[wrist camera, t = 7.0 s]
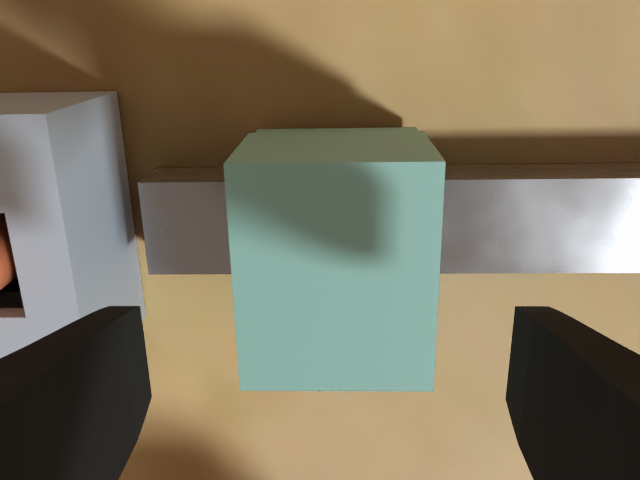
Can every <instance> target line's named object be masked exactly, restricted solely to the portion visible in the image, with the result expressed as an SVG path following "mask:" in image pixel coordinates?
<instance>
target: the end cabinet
mask: <svg viewBox="0 0 640 480" xmlns="http://www.w3.org/2000/svg"><path fill="white" fill-rule="evenodd" d="M0 213H5V217H6V222H7V227H8V232H9V237H10V242H11V247H12V252H13V257H14V262H15V267H16V272H17V276H18V281H19V286H20V291H6V289H5V287H3V288H2V289H1V290H0V358H2V357H4V356H6V355H8V354H11V353H13V352H15V351H17V350H19V349H21V348H23V347H25V346H27V345H29V344H31V343H33V342H35V341H37V340H39V339H41V338H43V337H45V336H47V335H49V334H51V333H53V332H54V331H56V330H58V329H60V328H62V327H64V326H66V325H68V324H70V323H72V322H74V321H76V320H78V319H80V318H82V317H84V316H86V315H88V314H90V313H92V312H95V311H97V310H99V309H102V308H105V307H108V306H140V309H141V317H142V321H143V320H144V318H145V317H146V314H145V306H144V298H143V290H142V282H141V275H140V267H139V259H138V251H137V243H136V236H135V228H134V220H133V212H132V204H131V197H130V189H129V181H128V173H127V165H126V158H125V150H124V142H123V134H122V126H121V119H120V111H119V103H118V95H117V91H90V92H22V93H0Z"/></svg>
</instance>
